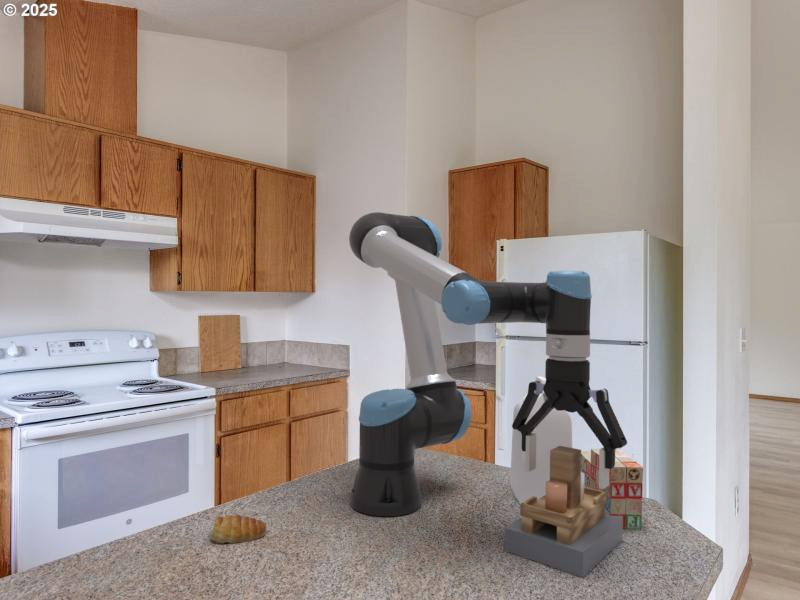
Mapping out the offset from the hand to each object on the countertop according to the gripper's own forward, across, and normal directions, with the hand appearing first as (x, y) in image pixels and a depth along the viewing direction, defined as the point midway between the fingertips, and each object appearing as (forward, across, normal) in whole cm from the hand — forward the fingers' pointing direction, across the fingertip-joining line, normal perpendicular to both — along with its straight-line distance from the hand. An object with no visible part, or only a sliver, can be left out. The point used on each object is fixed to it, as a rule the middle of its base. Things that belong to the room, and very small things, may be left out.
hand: (565, 478), depth 100 cm
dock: (+12, 0, 0) cm, 12 cm away
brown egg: (+4, 0, -4) cm, 6 cm away
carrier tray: (+8, 0, 0) cm, 8 cm away
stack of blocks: (+12, -1, +23) cm, 26 cm away
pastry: (+12, -47, -36) cm, 60 cm away
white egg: (+4, 0, +4) cm, 6 cm away
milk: (+12, -15, +21) cm, 29 cm away
